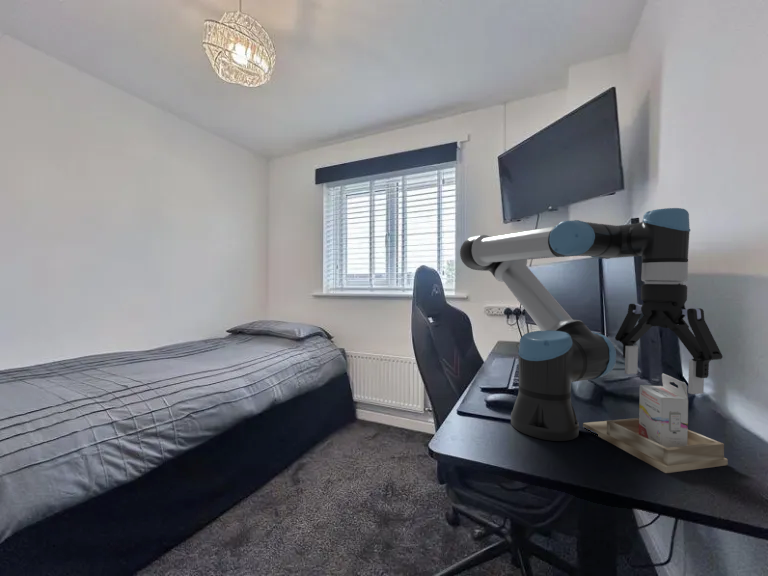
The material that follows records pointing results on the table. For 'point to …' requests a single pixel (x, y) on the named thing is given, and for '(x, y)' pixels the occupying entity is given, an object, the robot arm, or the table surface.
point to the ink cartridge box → (664, 413)
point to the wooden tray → (661, 447)
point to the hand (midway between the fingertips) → (660, 382)
